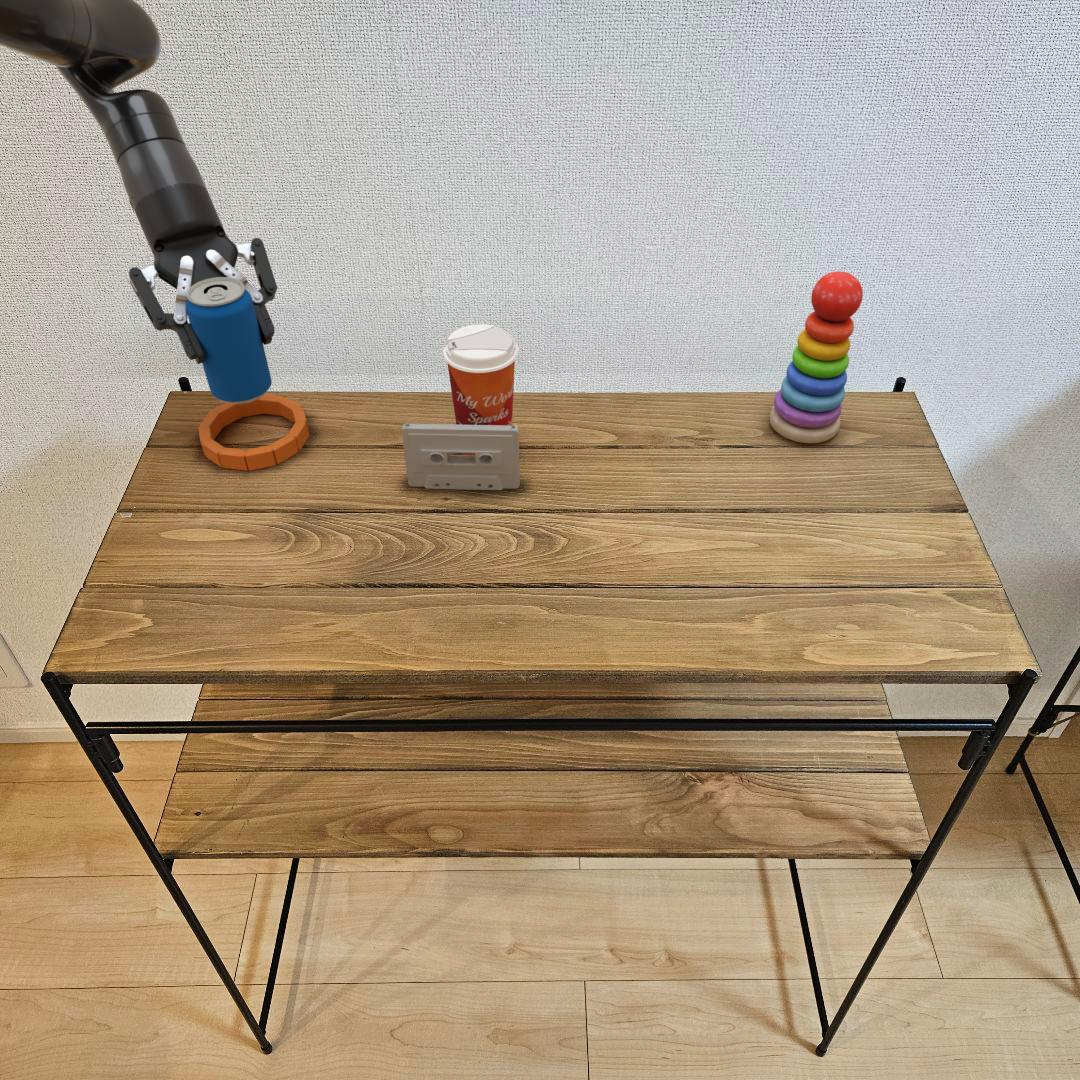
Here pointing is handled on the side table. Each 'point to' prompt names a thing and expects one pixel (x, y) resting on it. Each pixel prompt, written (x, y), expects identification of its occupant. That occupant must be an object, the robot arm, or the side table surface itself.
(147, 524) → the side table surface
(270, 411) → the ring
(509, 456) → the cassette
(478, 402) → the paper cup
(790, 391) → the stacking toy
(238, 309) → the beverage can
